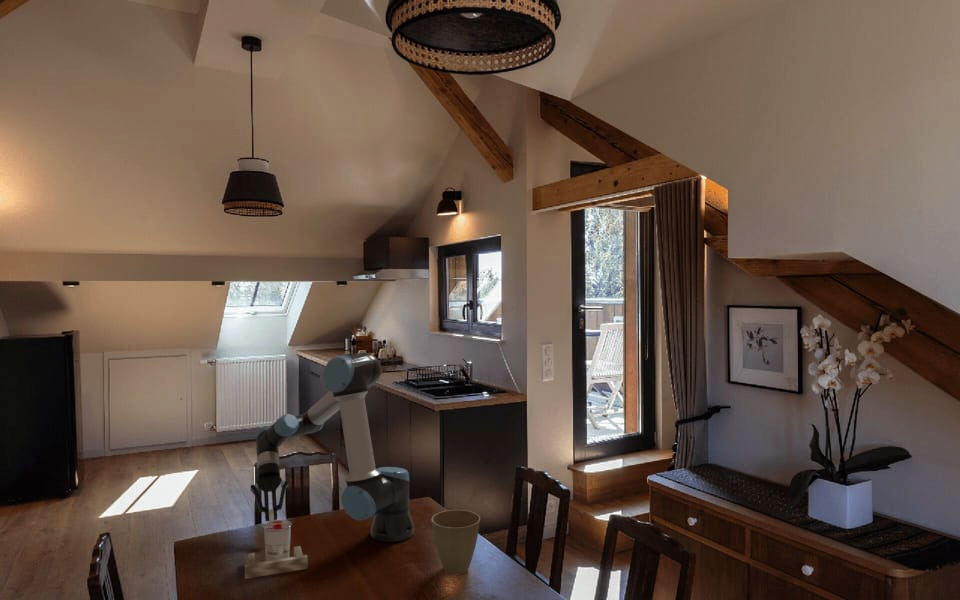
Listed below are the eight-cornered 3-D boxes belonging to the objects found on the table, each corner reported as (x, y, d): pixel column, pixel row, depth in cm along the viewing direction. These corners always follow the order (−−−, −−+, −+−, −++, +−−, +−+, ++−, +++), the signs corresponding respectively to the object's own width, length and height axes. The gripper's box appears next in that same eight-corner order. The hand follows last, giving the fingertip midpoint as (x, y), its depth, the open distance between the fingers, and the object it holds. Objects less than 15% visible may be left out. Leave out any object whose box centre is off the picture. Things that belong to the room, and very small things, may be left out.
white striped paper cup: (296, 556, 198) (296, 519, 198) (290, 568, 190) (290, 529, 190) (265, 557, 198) (265, 520, 198) (257, 569, 189) (257, 530, 189)
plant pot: (425, 564, 193) (425, 513, 193) (469, 556, 199) (469, 507, 199) (441, 585, 179) (441, 530, 179) (487, 575, 185) (487, 523, 185)
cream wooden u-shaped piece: (303, 554, 200) (303, 543, 200) (307, 568, 190) (307, 557, 190) (244, 563, 193) (244, 552, 193) (245, 578, 183) (245, 567, 183)
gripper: (286, 470, 228) (291, 531, 213) (249, 474, 223) (251, 537, 208) (287, 459, 223) (292, 521, 208) (249, 463, 218) (251, 527, 203)
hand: (271, 529), depth 208 cm, fingers closed
